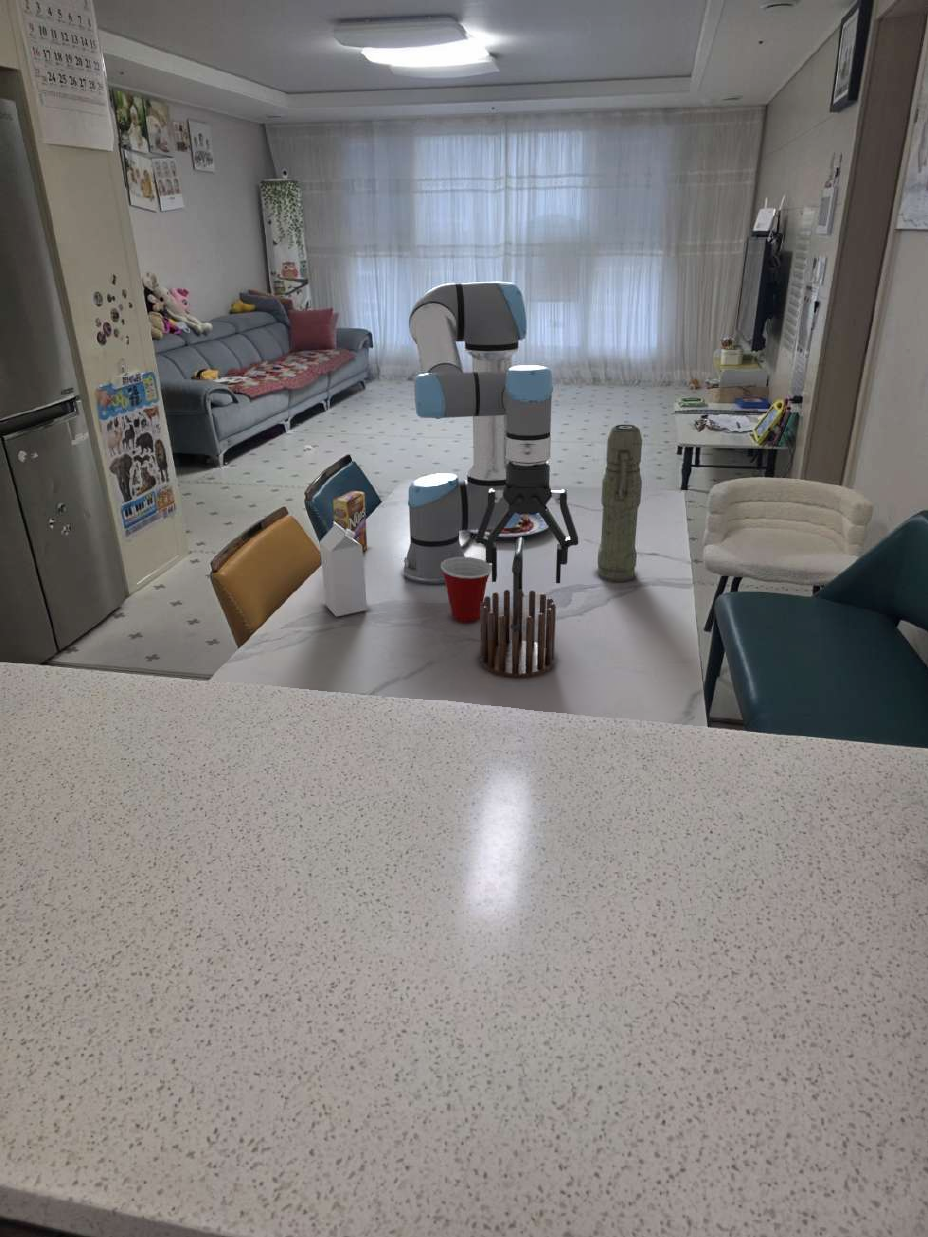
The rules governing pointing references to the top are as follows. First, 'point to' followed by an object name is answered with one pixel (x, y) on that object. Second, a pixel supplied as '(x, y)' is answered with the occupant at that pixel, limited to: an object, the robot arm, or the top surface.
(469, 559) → the plastic cup
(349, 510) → the candy box
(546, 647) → the basket
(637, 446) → the thermos
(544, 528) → the ceramic plate
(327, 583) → the milk carton
